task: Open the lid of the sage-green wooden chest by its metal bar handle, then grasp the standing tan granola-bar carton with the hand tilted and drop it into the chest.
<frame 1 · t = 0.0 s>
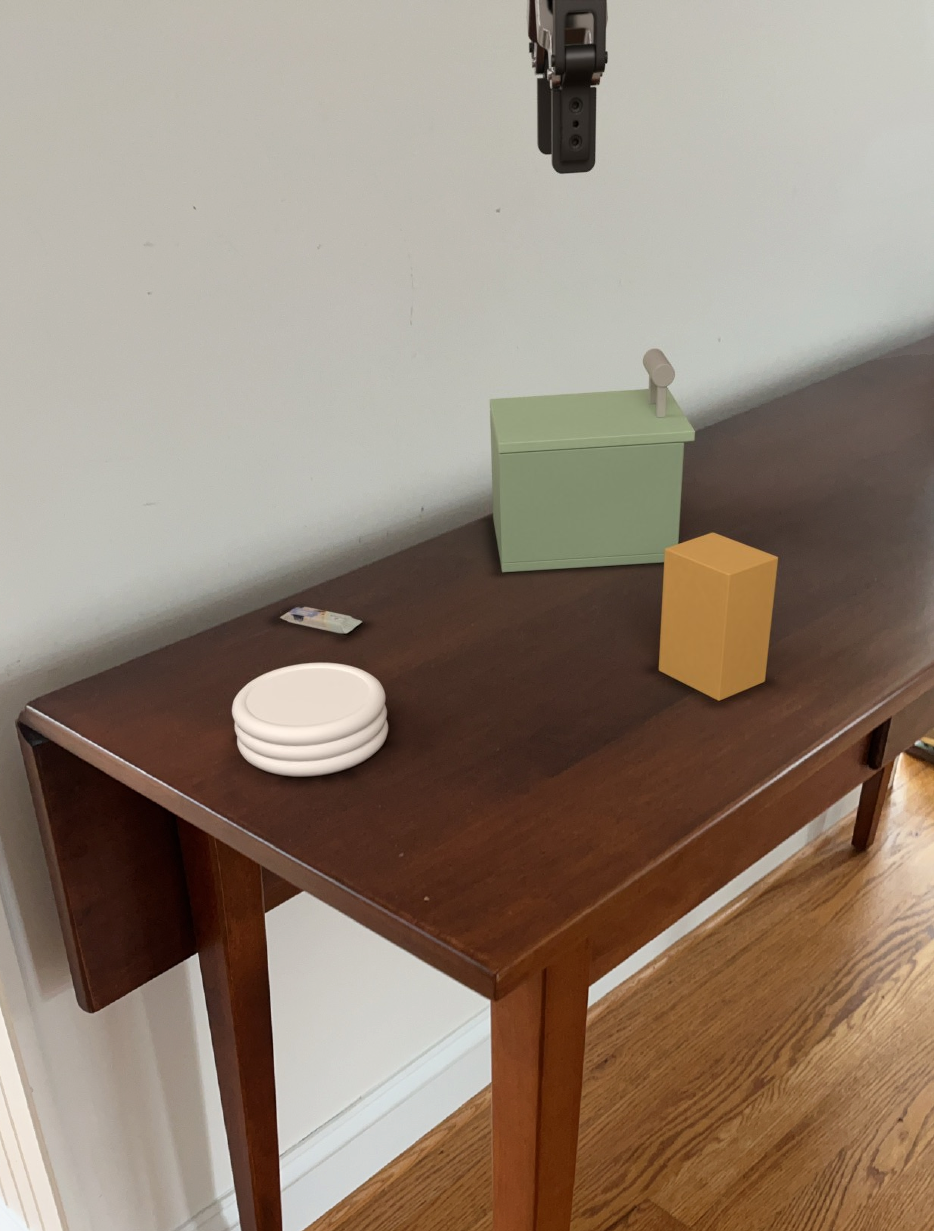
hand: (564, 162, 69), 32 cm above the table, tool pointing down, fingers open, 8 cm apart
granola bar: (322, 628, 100), on the table
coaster: (314, 743, 84), on the table
carton: (711, 676, 88), on the table
lid: (587, 392, 103), point 12 cm above the table, hinge at 0.0°
chest: (581, 539, 110), on the table
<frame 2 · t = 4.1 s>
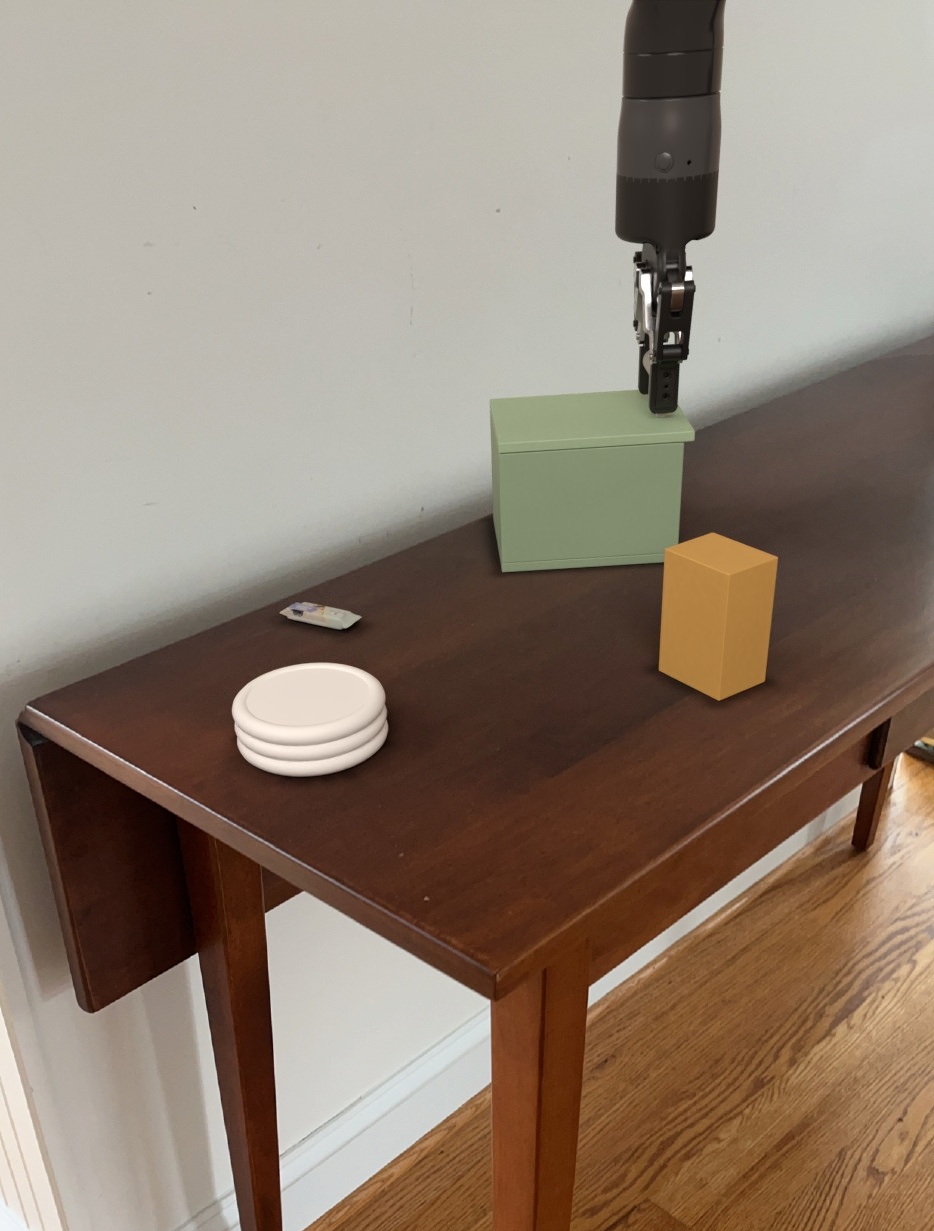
hand: (656, 401, 104), 11 cm above the table, tool pointing down, fingers closed on lid, 5 cm apart
lid: (587, 392, 103), point 12 cm above the table, hinge at 0.0°, touching gripper
everything else where it was.
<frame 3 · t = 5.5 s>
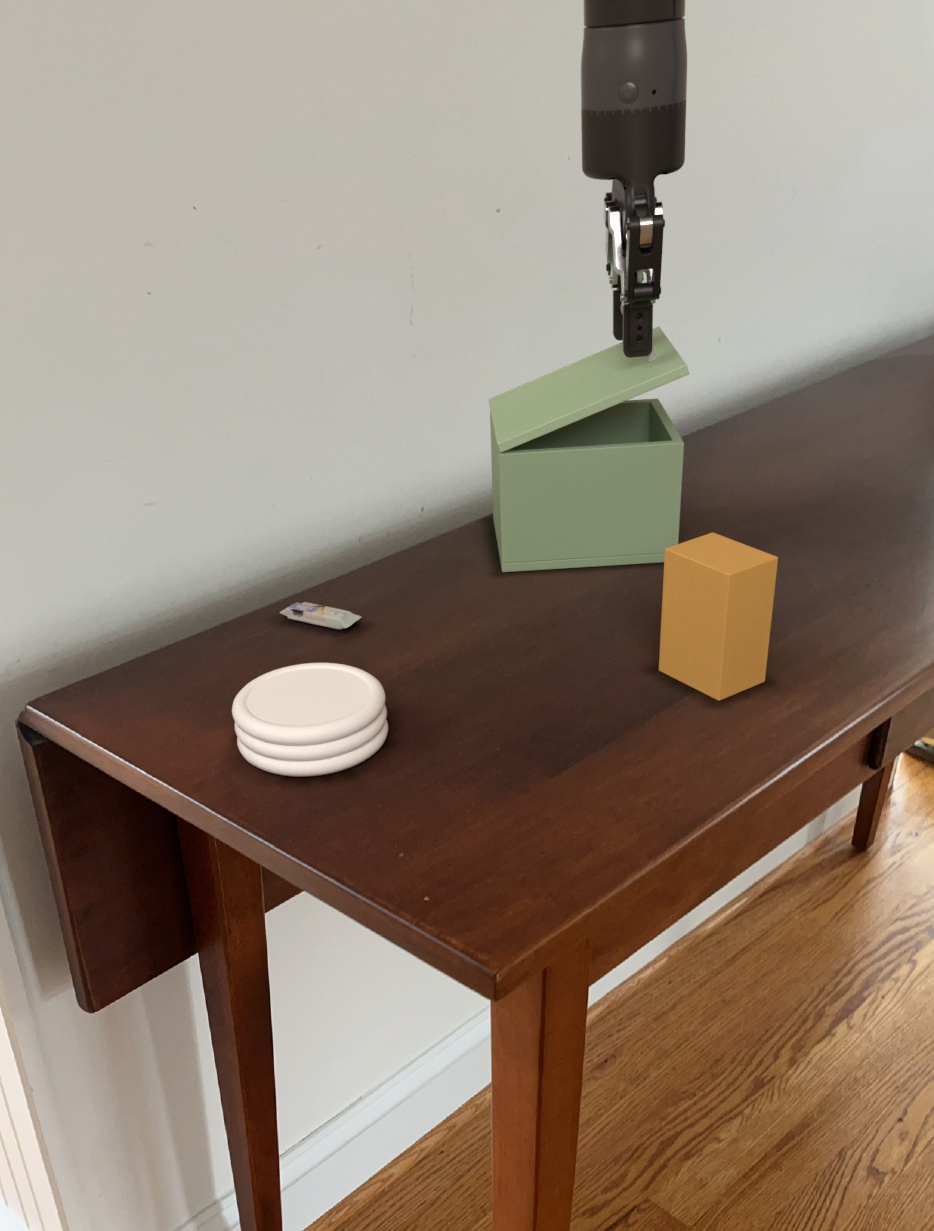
hand: (631, 346, 101), 16 cm above the table, tool pointing down, fingers closed on lid, 5 cm apart
lid: (574, 362, 102), point 15 cm above the table, hinge at 19.2°, touching gripper
everything else where it was.
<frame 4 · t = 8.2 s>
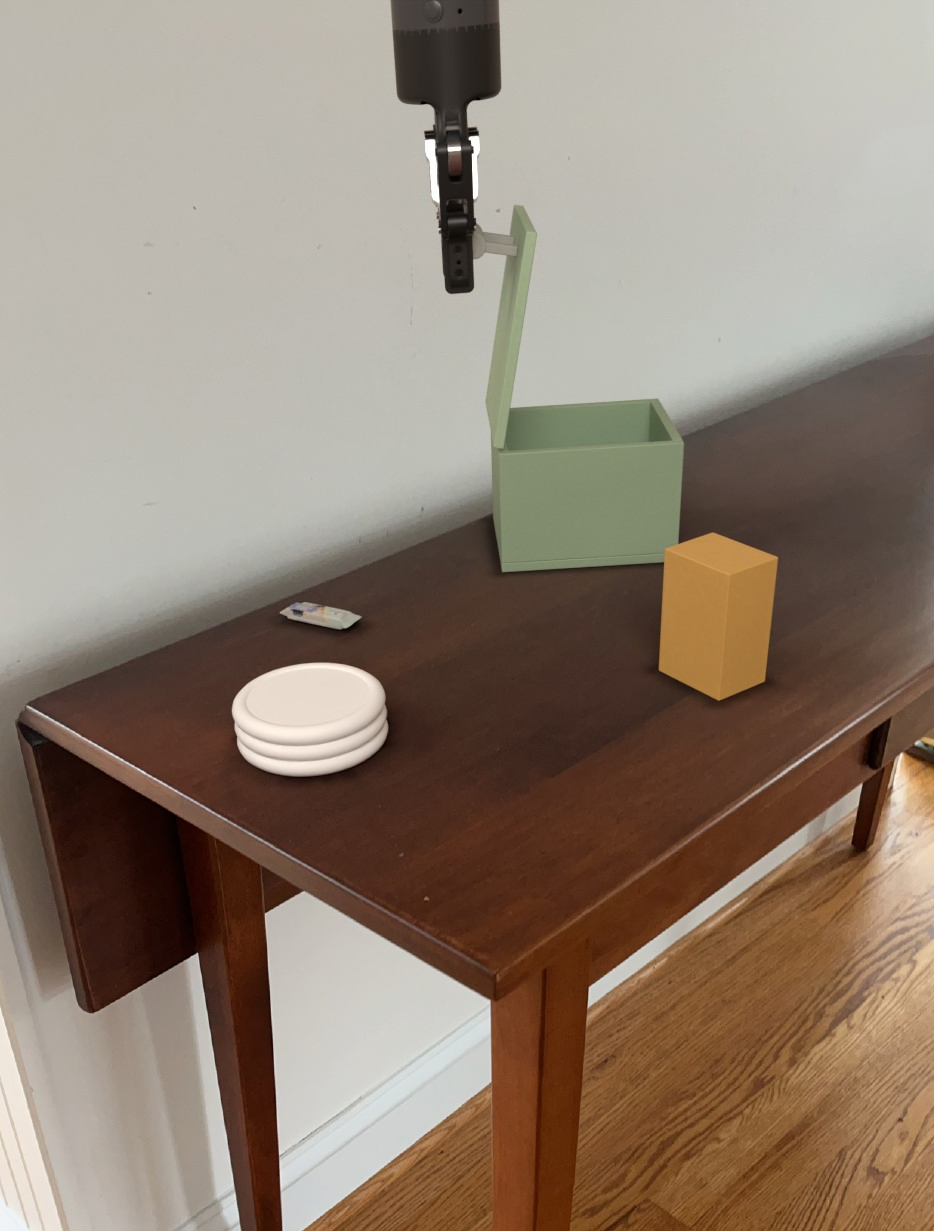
hand: (458, 283, 98), 21 cm above the table, tool pointing down, fingers closed on lid, 5 cm apart
lid: (482, 322, 100), point 18 cm above the table, hinge at 79.6°, touching gripper
everything else where it was.
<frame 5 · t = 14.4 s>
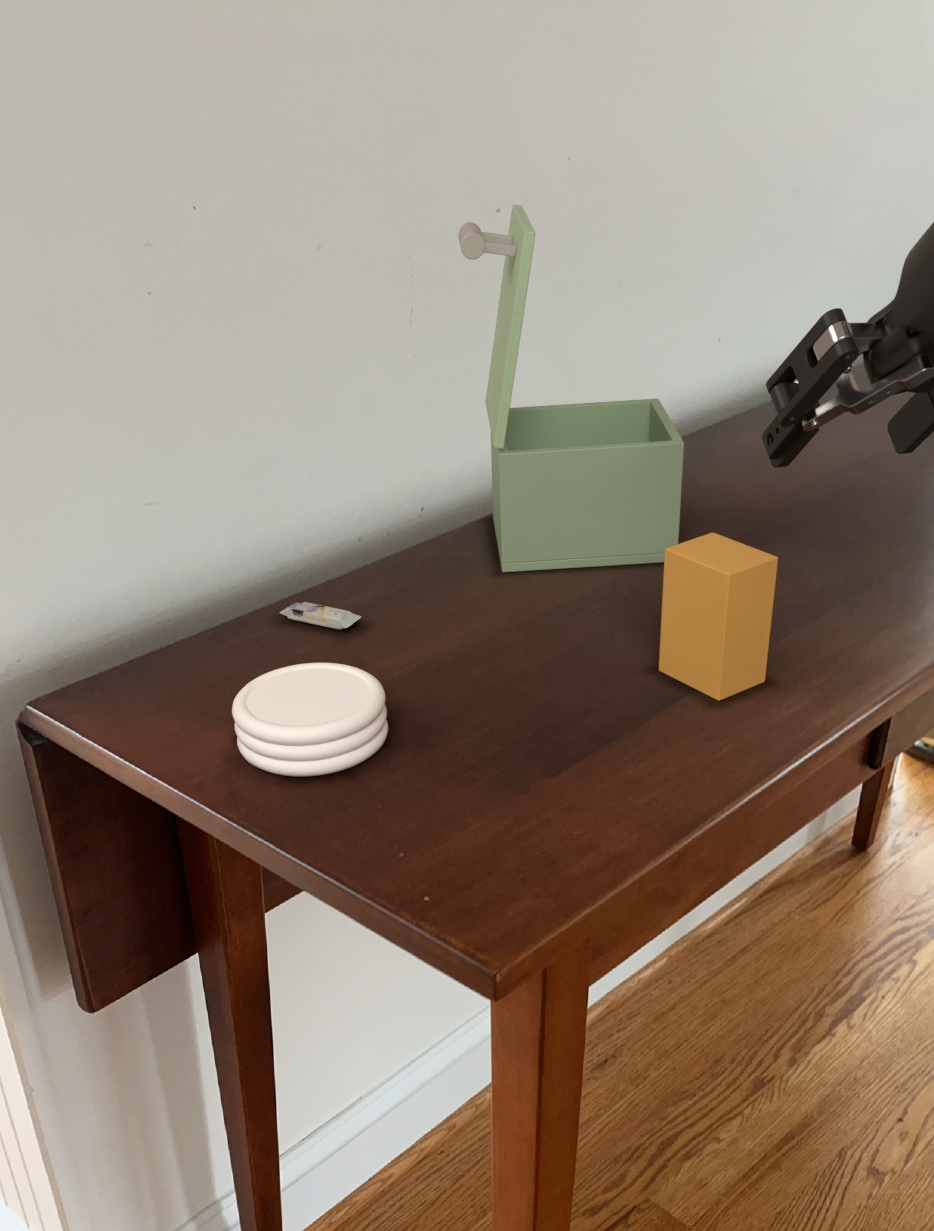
hand: (835, 447, 73), 18 cm above the table, tool tilted 40°, fingers open, 8 cm apart
lid: (481, 322, 100), point 18 cm above the table, hinge at 80.0°
everything else where it was.
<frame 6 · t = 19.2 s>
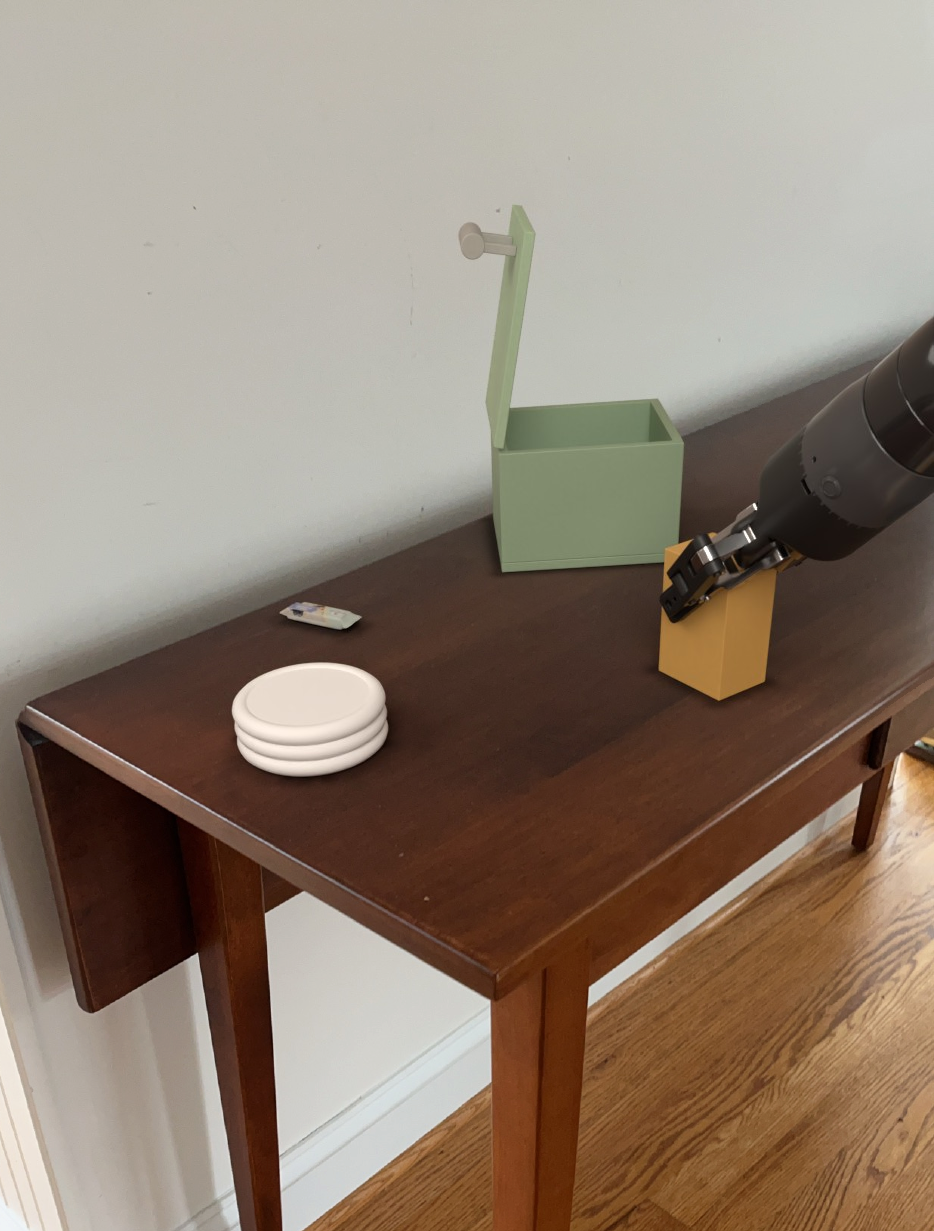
hand: (696, 599, 87), 5 cm above the table, tool tilted 45°, fingers closed on carton, 4 cm apart
carton: (711, 676, 88), on the table, touching gripper
everything else where it was.
when the fingers open (9 cm above the table, at t = 29.6 s): carton drops 3 cm, resting on chest.
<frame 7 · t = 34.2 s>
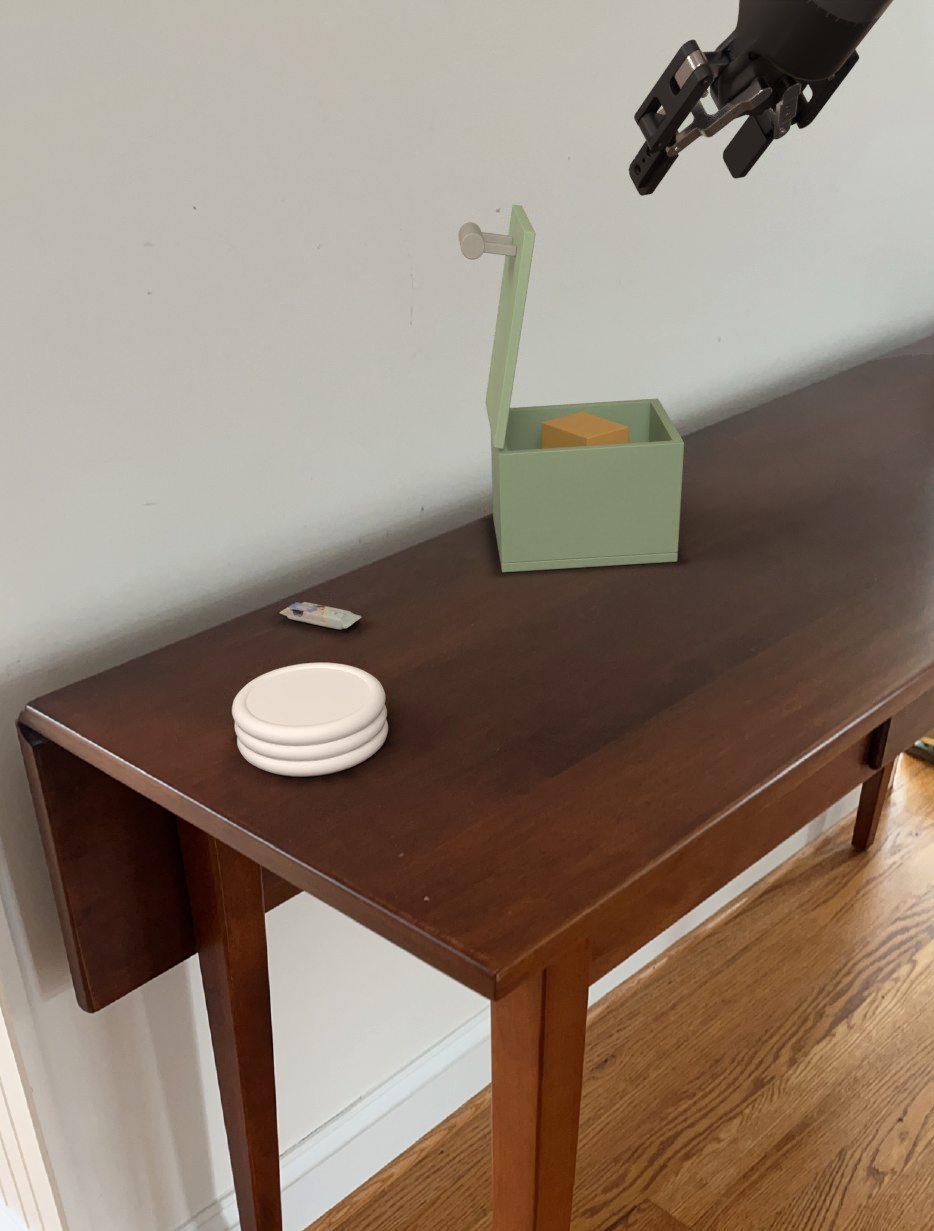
hand: (685, 176, 86), 29 cm above the table, tool tilted 45°, fingers open, 8 cm apart
carton: (583, 529, 110), point 1 cm above the table, touching chest
everything else where it was.
at the end: lid at +80° (first picture: +0°); carton inside the target area in the chest (0.2 cm from its centre), point 0.8 cm above the chest's base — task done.
